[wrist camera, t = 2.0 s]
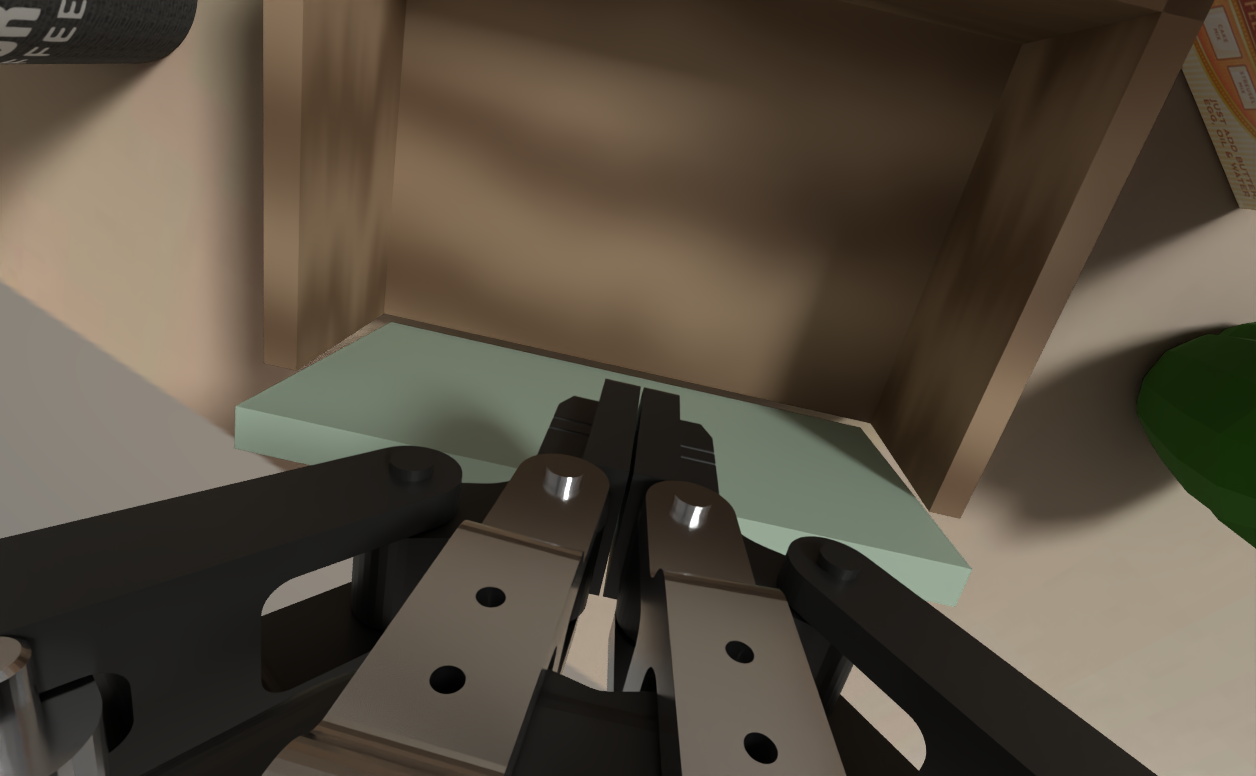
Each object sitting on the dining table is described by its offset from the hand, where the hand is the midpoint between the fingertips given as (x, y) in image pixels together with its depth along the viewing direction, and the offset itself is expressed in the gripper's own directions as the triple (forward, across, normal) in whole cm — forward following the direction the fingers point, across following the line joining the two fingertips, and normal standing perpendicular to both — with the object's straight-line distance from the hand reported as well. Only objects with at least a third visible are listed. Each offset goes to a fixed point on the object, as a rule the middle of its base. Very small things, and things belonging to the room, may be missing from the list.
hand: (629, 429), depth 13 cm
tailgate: (+13, 0, +4) cm, 14 cm away
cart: (+15, 0, -4) cm, 16 cm away
